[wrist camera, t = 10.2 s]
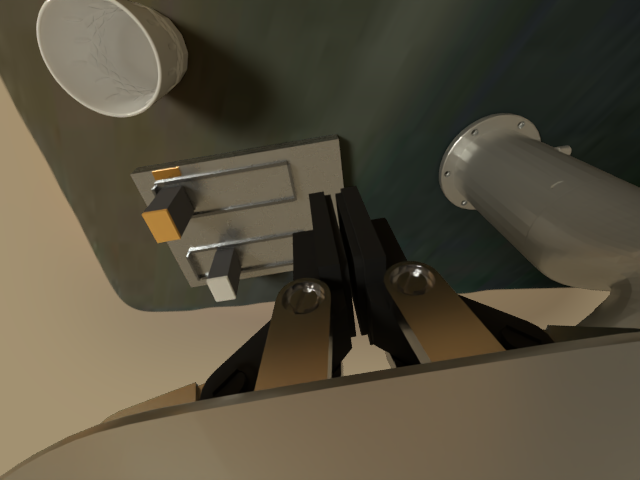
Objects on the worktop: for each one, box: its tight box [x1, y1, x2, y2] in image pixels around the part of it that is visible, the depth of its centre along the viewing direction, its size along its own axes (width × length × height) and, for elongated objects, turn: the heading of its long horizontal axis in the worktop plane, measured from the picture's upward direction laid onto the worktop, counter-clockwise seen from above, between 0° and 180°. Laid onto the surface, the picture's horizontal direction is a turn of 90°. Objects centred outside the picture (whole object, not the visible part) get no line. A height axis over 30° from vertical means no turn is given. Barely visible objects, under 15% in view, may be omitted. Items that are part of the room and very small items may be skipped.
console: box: [130, 134, 344, 287], centre depth 40 cm, size 24×18×3 cm
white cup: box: [37, 0, 188, 117], centre depth 26 cm, size 8×8×10 cm
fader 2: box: [206, 248, 241, 302], centre depth 40 cm, size 2×4×6 cm
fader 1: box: [142, 185, 194, 243], centre depth 34 cm, size 2×4×6 cm
